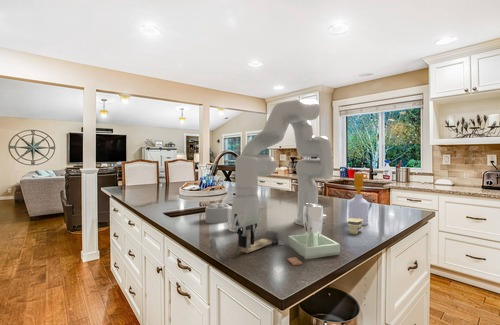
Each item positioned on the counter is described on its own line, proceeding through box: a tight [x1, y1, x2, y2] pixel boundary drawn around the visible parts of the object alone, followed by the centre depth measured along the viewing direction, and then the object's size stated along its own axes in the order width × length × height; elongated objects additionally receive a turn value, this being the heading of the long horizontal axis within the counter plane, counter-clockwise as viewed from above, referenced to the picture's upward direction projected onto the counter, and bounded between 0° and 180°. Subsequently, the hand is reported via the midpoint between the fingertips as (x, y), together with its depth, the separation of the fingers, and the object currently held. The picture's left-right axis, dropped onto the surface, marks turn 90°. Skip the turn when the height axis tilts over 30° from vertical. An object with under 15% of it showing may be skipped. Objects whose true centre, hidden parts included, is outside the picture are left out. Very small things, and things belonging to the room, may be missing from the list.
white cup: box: [227, 205, 242, 233], centre depth 113 cm, size 8×8×10 cm
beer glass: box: [303, 203, 324, 247], centre depth 90 cm, size 7×7×15 cm
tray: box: [287, 233, 341, 260], centre depth 89 cm, size 13×13×4 cm
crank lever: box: [240, 225, 280, 254], centre depth 92 cm, size 18×5×10 cm, turn 136°
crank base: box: [258, 238, 303, 266], centre depth 89 cm, size 8×24×1 cm, turn 17°
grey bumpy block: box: [204, 201, 230, 224], centre depth 129 cm, size 10×13×9 cm
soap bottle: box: [347, 172, 369, 226], centre depth 124 cm, size 9×9×25 cm
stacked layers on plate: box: [347, 218, 364, 235], centre depth 110 cm, size 10×9×6 cm
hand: (246, 244), depth 86 cm, fingers closed on crank lever, 3 cm apart
